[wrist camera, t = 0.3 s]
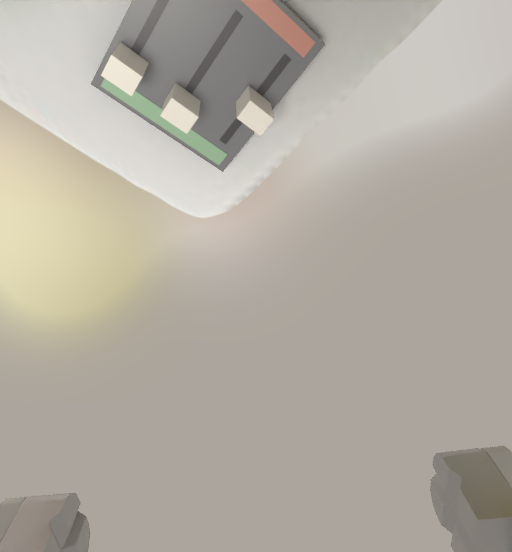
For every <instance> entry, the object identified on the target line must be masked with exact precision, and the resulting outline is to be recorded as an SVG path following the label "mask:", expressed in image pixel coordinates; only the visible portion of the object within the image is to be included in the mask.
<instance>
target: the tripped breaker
mask: <svg viewBox="0 0 512 552" xmlns="http://www.w3.org/2000/svg"><path fill="white" fill-rule="evenodd" d="M236 114H237V119H238V120H240V121H241V122H242V123H244V124H245V125H246V126H248V127H249V128H250V129H252V130H253V131H254V132H256V133H257V134H258V135H260V136H261V135H262V134H263V132H264V131H265V130H266V129H267V128H268V126H269V125H270V124H271V123H272V121H273V120H274V116H273V112H272V107H271V103H270V102H269V101H267V100H266V99H265V98H264V97H262V96H261V95H260V94H259V93H257V92H256V91H255V90H254V89H253V88H251V87H250V86H249V85H248V86H247V88H246V89H245V90H244V92H243V93H242V94H241V96H240V97H239V98H238V100H237V101H236Z"/></svg>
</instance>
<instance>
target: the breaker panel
mask: <svg viewBox="0 0 512 552" xmlns="http://www.w3.org/2000/svg"><path fill="white" fill-rule="evenodd" d="M120 42H121V43H123V44H124V45H126V46H127V47H128V48H130V49H131V50H132V51H134V52H135V53H136V54H138V55H139V56H140V57H142V58H143V59H145V60H146V61H147V62H149V64H148V66H147V68H146V71H145V73H144V75H143V77H142V79H141V81H140V82H139V84H138V86H137V88H136V89H135V91H134V93H133V95H132V96H130V95H129V94H127V93H126V92H124V91H123V90H121V89H120V88H118V87H117V86H115V85H114V84H113V83H111V82H110V81H108V80H107V79H105V78H104V77H102V76H101V74H102V72H103V70H104V68H105V66H106V64H107V62H108V60H109V58H110V56H111V54H112V53H113V52H114V50H115V49H116V47H117V46H118V45H119V43H120ZM324 45H325V44H324V43H323V41H322V40H321V38H320V37H319V36H318V35H317V34H316V33H315V32H314V31H313V30H312V29H311V28H310V27H309V26H308V25H307V24H306V23H305V22H304V21H303V20H301V19H300V18H299V17H298V16H297V15H296V14H295V13H294V12H293V11H292V10H291V9H290V8H289V7H288V6H287V5H286V4H285V3H284V2H283V1H282V0H133V1H132V3H131V5H130V7H129V9H128V11H127V13H126V15H125V17H124V19H123V21H122V23H121V25H120V27H119V29H118V31H117V33H116V35H115V37H114V39H113V41H112V43H111V45H110V47H109V49H108V51H107V53H106V55H105V57H104V59H103V61H102V63H101V65H100V67H99V69H98V71H97V73H96V75H95V77H94V79H93V81H92V83H91V84H92V85H93V86H95V87H96V88H98V89H99V90H101V91H102V92H104V93H105V94H107V95H108V96H110V97H111V98H113V99H114V100H116V101H117V102H119V103H120V104H122V105H123V106H125V107H126V108H128V109H129V110H131V111H132V112H134V113H135V114H137V115H138V116H140V117H141V118H143V119H144V120H146V121H147V122H149V123H150V124H152V125H153V126H155V127H156V128H158V129H159V130H161V131H162V132H164V133H165V134H167V135H168V136H170V137H171V138H173V139H174V140H176V141H177V142H179V143H180V144H182V145H183V146H185V147H186V148H188V149H189V150H191V151H192V152H194V153H195V154H197V155H198V156H200V157H201V158H203V159H204V160H206V161H207V162H209V163H211V164H212V165H214V166H215V167H217V168H218V169H220V170H221V171H224V170H225V168H226V167H227V166H228V165H229V163H230V162H231V161H232V160H233V158H234V157H235V156H236V155H237V153H238V152H239V151H240V150H241V148H242V147H243V146H244V145H245V143H246V142H247V141H248V140H249V138H250V137H251V136H252V135H253V133H254V131H253V130H252V129H250V128H249V127H248V126H246V125H245V124H244V123H242V122H241V121H240V120H238V119H237V114H236V101H237V100H238V98H239V97H240V96H241V94H242V93H243V92H244V90H245V89H246V88H247V86H248V85H249V86H250V87H251V88H253V89H254V90H255V91H256V92H257V93H259V94H260V95H261V96H262V97H264V98H265V99H266V100H267V101H269V102H270V103H271V107H272V110H273V108H274V107H275V106H276V105H277V103H278V102H279V101H280V100H281V98H282V97H283V96H284V95H285V93H286V92H287V91H288V90H289V88H290V87H291V86H292V85H293V83H294V82H295V81H296V80H297V78H298V77H299V76H300V75H301V73H302V72H303V71H304V70H305V68H306V67H307V66H308V65H309V63H310V62H311V61H312V60H313V58H314V57H315V56H316V55H317V53H318V52H319V51H320V50H321V48H322V47H323V46H324ZM175 83H177V84H178V85H180V86H181V87H182V88H184V89H185V90H187V91H188V92H189V93H191V94H192V95H193V96H195V97H196V98H197V99H199V100H200V101H201V102H200V110H199V117H198V119H197V120H196V122H195V123H194V125H193V126H192V127H191V129H190V130H189V132H188V133H187V134H186V133H184V132H183V131H181V130H180V129H179V128H177V127H176V126H174V125H173V124H171V123H170V122H168V121H167V120H165V119H164V118H162V117H161V116H160V115H161V111H162V108H163V104H164V101H165V99H166V97H167V96H168V94H169V92H170V91H171V89H172V88H173V86H174V84H175Z"/></svg>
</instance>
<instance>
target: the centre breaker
mask: <svg viewBox="0 0 512 552" xmlns="http://www.w3.org/2000/svg"><path fill="white" fill-rule="evenodd" d="M200 102H201V101H200V100H199V99H197V98H196V97H195V96H193V95H192V94H191V93H189V92H188V91H187V90H185V89H184V88H182V87H181V86H180V85H178V84H177V83H175V84H174V86H173V88H172V89H171V91H170V92H169V94H168V96H167V97H166V99H165V101H164V104H163V108H162V111H161V115H160V116H161V117H162V118H164V119H165V120H167V121H168V122H170V123H171V124H173V125H174V126H176V127H177V128H179V129H180V130H181V131H183V132H184V133H186V134H187V133H188V132H189V130H190V129H191V127H192V126H193V125H194V123H195V122H196V120H197V119H198V117H199V110H200Z"/></svg>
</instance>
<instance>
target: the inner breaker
mask: <svg viewBox="0 0 512 552" xmlns="http://www.w3.org/2000/svg"><path fill="white" fill-rule="evenodd" d="M148 64H149V62H147V61H146V60H145V59H143V58H142V57H140V56H139V55H138V54H136V53H135V52H134V51H132V50H131V49H130V48H128V47H127V46H126V45H124V44H123V43H121V42H120V43H119V45H118V46H117V47H116V49H115V50H114V52H113V53H112V54H111V56H110V58H109V60H108V62H107V64H106V66H105V68H104V70H103V72H102V74H101V76H102V77H104V78H105V79H107V80H108V81H110V82H111V83H113V84H114V85H115V86H117V87H118V88H120V89H121V90H123V91H124V92H126V93H127V94H129V95H130V96H132V95H133V93H134V91H135V89H136V88H137V86H138V84H139V82H140V81H141V79H142V77H143V75H144V73H145V71H146V68H147V66H148Z"/></svg>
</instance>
